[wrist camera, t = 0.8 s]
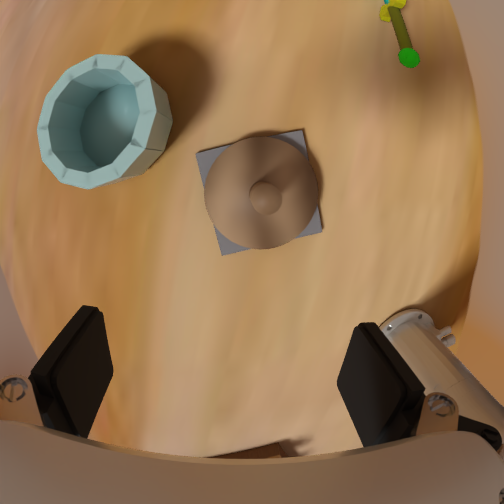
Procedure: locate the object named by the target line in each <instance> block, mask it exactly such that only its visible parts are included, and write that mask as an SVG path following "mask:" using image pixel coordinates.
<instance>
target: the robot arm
mask: <svg viewBox="0 0 504 504" xmlns="http://www.w3.org/2000/svg"><path fill="white" fill-rule="evenodd" d="M449 333H451V327H450V326H449V325H448V326H446V327H444V328H442V329H440V330H439V329H436V328H435V326H434V322H433V320H432V318H431V317H430V316H429V315H428V314H427V313H426V312H424V311H422V310H419V309H409V310H405V311H402V312H399V313H397V314H396V315H394V316H392V317H391V318H389V319H388V320H387V321H385V322H384V323H383V324H382V325H381V326H380V327H378V326H377V325H376V323H374V322H367V323H360V324H359V325H358V326H356V327H355V328H354V330H353V334H352V337H351V340H350V343H349V346H348V349H347V352H346V355H345V358H344V361H343V364H342V367H341V370H340V373H339V376H338V379H337V387H338V389H339V391H340V394H341V396H342V398H343V400H344V403H345V405H346V407H347V410H348V412H349V414H350V416H351V419H352V421H353V423H354V426H355V428H356V430H357V433H358V435H359V437H360V440H361V442H362V444H363V447H364V448H359V449H353V450H347V451H341V452H335V453H327V454H320V455H311V456H301V457H288V458H270V459H218V458H201V457H188V456H178V455H169V454H161V453H154V452H148V451H142V450H136V449H131V448H125V447H120V446H116V445H111V444H107V443H102V442H98V441H94V440H90V439H87V438H88V435H89V432H90V430H91V427H92V425H93V422H94V419H95V417H96V414H97V412H98V409H99V407H100V405H101V402H102V400H103V397H104V395H105V393H106V390H107V388H108V386H109V383H110V381H111V379H112V376H113V365H112V360H111V355H110V350H109V345H108V340H107V335H106V329H105V323H104V316H103V313H102V312H100V311H99V309H98V308H97V307H93V306H86V305H83V306H82V307H81V308H80V309H79V310H78V311H77V313H76V314H75V315H74V316H73V317H72V319H71V320H70V321H69V322H68V323H67V325H66V326H65V327H64V328H63V330H62V331H61V332H60V333H59V335H58V336H57V337H56V338H55V340H54V341H53V342H52V344H51V345H50V346H49V348H48V349H47V350H46V351H45V353H44V354H43V355H42V357H41V358H40V359H39V361H38V362H37V364H36V365H35V366H34V368H33V369H32V370H31V375H30V376H29V377H28V378H27V377H25V376H22V375H18V374H13V375H9V376H6V377H4V378H3V379H1V380H0V504H504V407H503V406H502V405H501V404H500V403H499V402H498V401H497V400H496V399H495V398H494V397H493V396H492V395H491V394H490V393H489V392H488V391H487V390H486V389H485V388H484V387H483V385H482V384H480V382H479V381H478V380H477V379H476V378H475V377H474V376H473V375H472V373H471V372H470V371H469V370H468V369H467V368H466V367H465V366H464V365H463V364H462V363H461V361H460V360H459V359H458V358H457V357H456V356H455V355H454V354H453V353H452V352H451V351H450V350H449V349H448V348H447V347H449V346H451V345H453V344H455V336H454V335H453V334H449ZM447 334H449V335H447ZM445 335H447V336H445ZM442 336H445V337H443V338H442V339H441V337H442Z"/></svg>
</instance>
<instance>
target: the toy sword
mask: <svg viewBox="0 0 504 504" xmlns="http://www.w3.org/2000/svg"><path fill="white" fill-rule="evenodd" d="M384 2H385V5H383V6H382V7H381V10H380V15H379V16H380V18H381V20H383V21H387V22H390V19H391V21H392V24H393V27H394V30H395V33H396V36H397V40H398V43H399V46H400V50H401V51H400V52H399V54H398V56H399V60H400V62H401V63H402V64H403V65H404V66H406V67H408V68H414V67H416V66H417V65H418V64H419V62H420V58H419V54H418V53H417V52H416V51H415V50H413V48H412V44H411V41H410V38H409V35H408V32H407V29H406V26H405V23H404V20H403V17H402V15H401V12H400V9H402V8H403V7H404V6H405V4H406V0H384Z"/></svg>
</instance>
